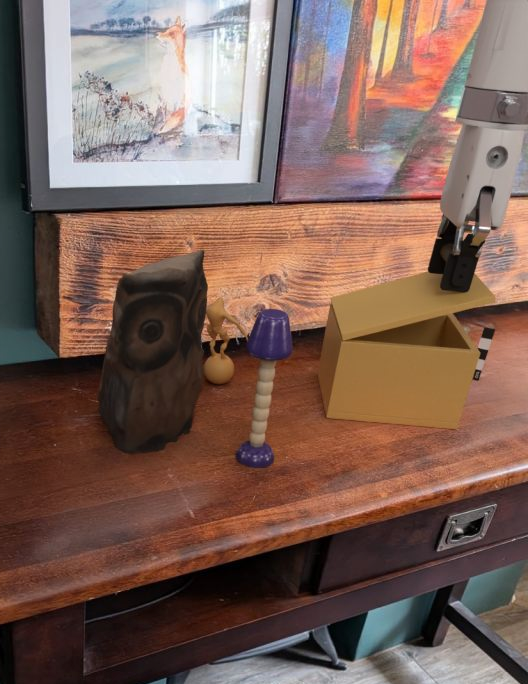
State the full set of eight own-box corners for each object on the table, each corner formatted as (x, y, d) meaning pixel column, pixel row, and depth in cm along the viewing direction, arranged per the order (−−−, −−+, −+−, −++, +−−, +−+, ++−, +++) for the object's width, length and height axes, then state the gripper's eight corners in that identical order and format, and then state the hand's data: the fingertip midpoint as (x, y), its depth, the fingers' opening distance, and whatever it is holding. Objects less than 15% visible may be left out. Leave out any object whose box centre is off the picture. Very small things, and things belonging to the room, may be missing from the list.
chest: (433, 383, 102) (453, 313, 97) (456, 429, 91) (480, 352, 85) (317, 374, 103) (330, 303, 98) (326, 418, 92) (341, 341, 86)
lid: (464, 267, 93) (461, 229, 91) (495, 302, 82) (492, 259, 79) (331, 303, 98) (324, 267, 95) (342, 341, 86) (335, 301, 84)
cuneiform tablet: (478, 380, 104) (392, 361, 108) (480, 375, 107) (396, 357, 112) (495, 329, 101) (405, 311, 105) (496, 326, 105) (410, 309, 109)
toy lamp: (277, 471, 80) (302, 321, 71) (234, 469, 80) (253, 319, 71) (270, 449, 84) (293, 305, 75) (229, 448, 84) (247, 303, 75)
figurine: (252, 385, 99) (263, 296, 92) (232, 401, 95) (243, 309, 88) (196, 370, 102) (204, 283, 96) (175, 385, 98) (182, 295, 91)
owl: (199, 409, 92) (215, 243, 81) (208, 460, 82) (227, 278, 71) (97, 406, 92) (99, 238, 81) (93, 457, 81) (94, 272, 70)
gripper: (561, 122, 70) (499, 308, 80) (508, 105, 85) (461, 265, 95) (481, 115, 71) (429, 301, 81) (441, 99, 85) (401, 259, 95)
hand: (447, 280), depth 88 cm, fingers closed on lid, 6 cm apart
